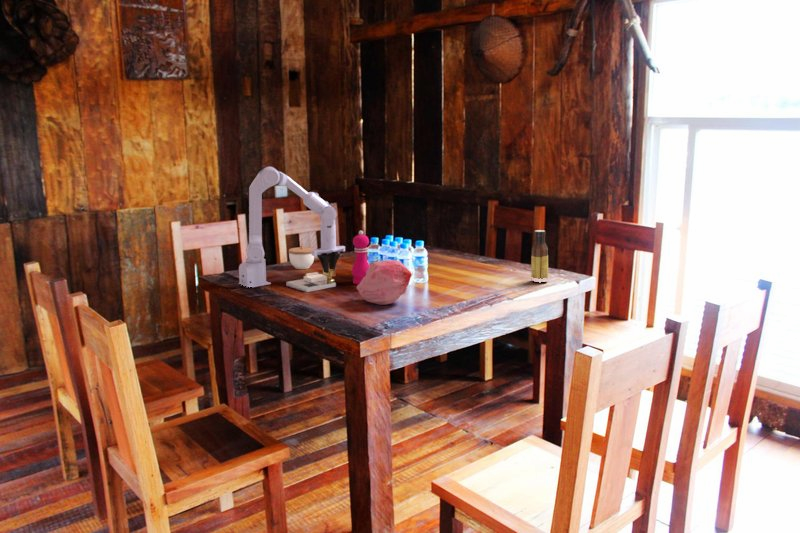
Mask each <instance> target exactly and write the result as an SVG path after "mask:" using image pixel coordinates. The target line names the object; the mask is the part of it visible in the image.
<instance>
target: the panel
mask: <svg viewBox="0 0 800 533" xmlns="http://www.w3.org/2000/svg"><path fill="white" fill-rule="evenodd" d="M285 282H286V283H285V284H286V287H290V288H293V289H296V290H298V291H303V292H304V293H305V292H306V293H309V292H315V291H319V290H324V289H330V288H335V287H336V286H337V283H336V282H335V281H328V280H323V281H318V282H312V283H311V282H307V281H304V278H301V279H296V280H295V279H294V280H289V281H285Z"/></svg>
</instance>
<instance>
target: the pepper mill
mask: <svg viewBox="0 0 800 533" xmlns="http://www.w3.org/2000/svg"><path fill="white" fill-rule="evenodd" d="M352 244H353V246H354V252H355V259H354V263H353V265H352V268H351V275H352V276H353V278H352V283H353V284H354V285H359V284H360V282H361V281H362V279H363V277H365V276H366V271H367V270H368V269H369V267H370V264H369V261H368V258H367V253H368V252H369V251H368V249H369V246H368V245H369V244H370V239H369V237H368V236H367V235H365V234H364V231H363V230H359V231H358V234H357V235H355V236H354V237H353V239H352Z"/></svg>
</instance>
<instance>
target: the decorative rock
mask: <svg viewBox="0 0 800 533" xmlns="http://www.w3.org/2000/svg"><path fill="white" fill-rule="evenodd" d="M369 266H370V267H369V269H368V270H367V271H366V276H365V277H363V279H362V281H361V282H360V284H357V285H356V290H357V292H358V293H359V295H360V296H361V297H362V299H363V300H365V301H366V302H368V303H371V304H376V305H378V306H379V305H383V306H385V305H391V304H394V303H395V302H397V301H398V300H399V298H401V296H402V295H404V294H405V293H406V292H407V287H408V286H409V284H410V282H411V278H412V272H411V271H410V269H408V268H407V267H406V266H405V264H403V262H401V261H400V260H396V259H387V260H379V261H374V262H371V264H369Z"/></svg>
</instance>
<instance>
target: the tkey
mask: <svg viewBox="0 0 800 533" xmlns="http://www.w3.org/2000/svg"><path fill="white" fill-rule="evenodd" d="M336 272H337V270H336V269H335V270H333V269H332V268H329V272H328V273H325V272H324V271H323V270H322V275H326V276H327V280H328V281H332V282H335V279H334V278H332V277H336V274H337V273H336Z"/></svg>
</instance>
